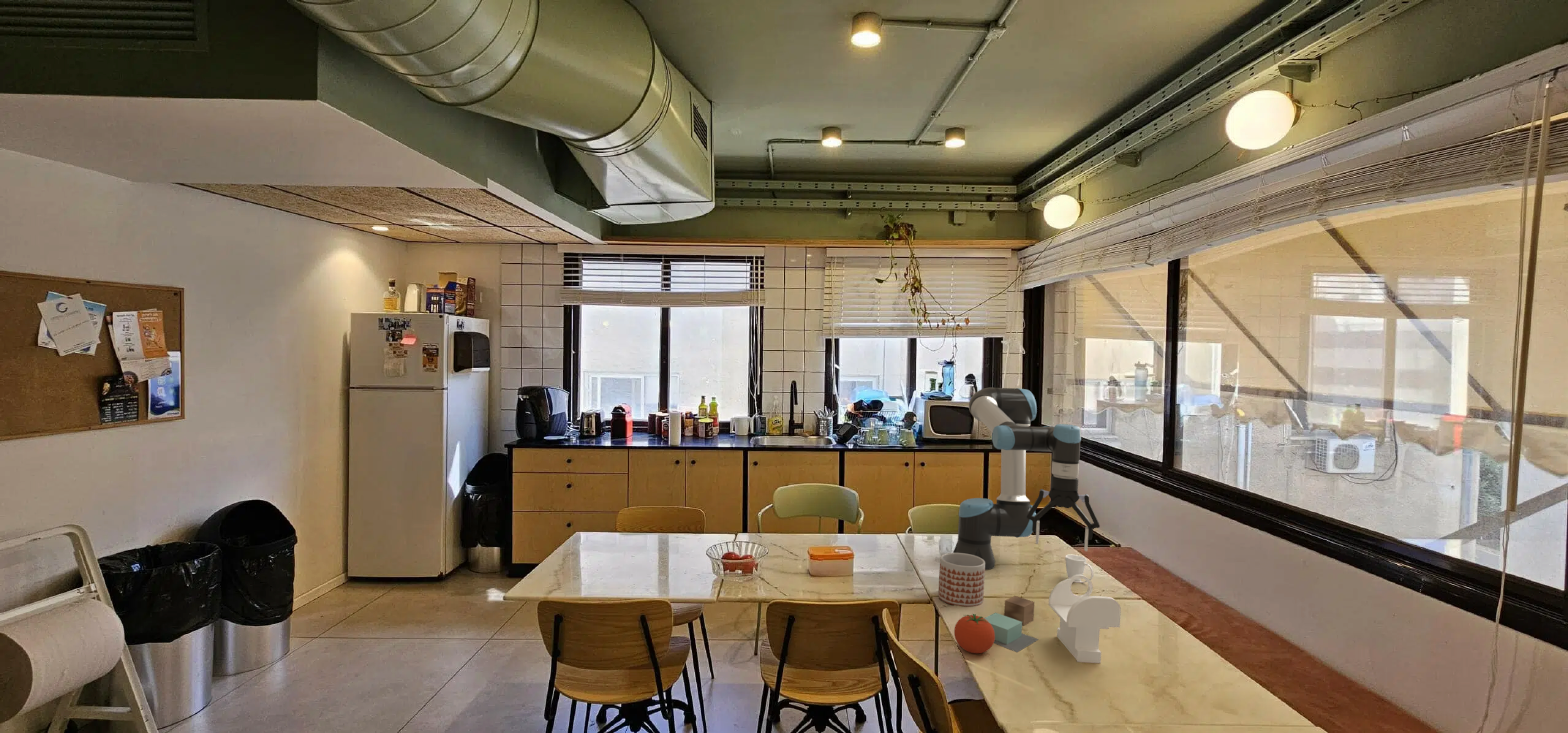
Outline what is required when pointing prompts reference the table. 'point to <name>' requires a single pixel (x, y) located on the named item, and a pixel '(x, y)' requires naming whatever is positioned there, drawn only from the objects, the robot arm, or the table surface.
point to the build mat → (1018, 643)
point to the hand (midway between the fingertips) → (1061, 546)
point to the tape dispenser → (1083, 618)
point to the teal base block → (1005, 628)
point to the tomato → (974, 634)
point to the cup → (1076, 566)
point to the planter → (961, 579)
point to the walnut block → (1019, 609)
